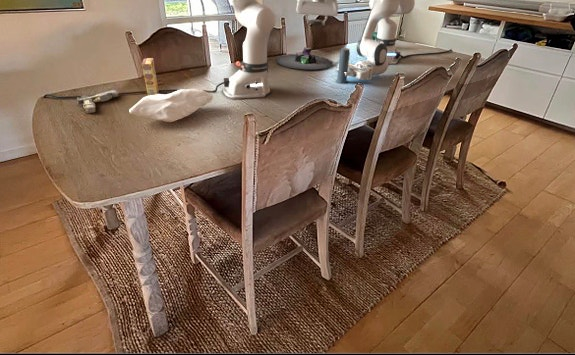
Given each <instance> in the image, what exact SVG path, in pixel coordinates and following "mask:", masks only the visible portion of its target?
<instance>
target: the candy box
mask: <svg viewBox="0 0 575 355" xmlns="http://www.w3.org/2000/svg"><path fill="white" fill-rule="evenodd" d="M141 66H142V73H143V78H144V82H145V87H146V91H147V93H146V94H147V96H150V95H156V94H159V93H160V92H159V91H158V90H159V84H158V79H157V73H156V66H155V62H154V58H153V57H151V58H150V57H149V58H146V57H145V58H143V60H142V63H141Z"/></svg>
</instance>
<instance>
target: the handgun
mask: <svg viewBox="0 0 575 355" xmlns="http://www.w3.org/2000/svg"><path fill="white" fill-rule="evenodd" d="M118 93H119V92H118V91H117V90H116V89H112V90H108V91H105V92H104V91H103V92H101V93H96V94H92V95H93V96H86V95H87V94H85V95H84V94H83V95H80V96H81V98H76V101H77V104H78V105H82V108H83V109H84V110H85V113H87V114H91V113H95V112H96V104H95V103H98V102H106V101H109V100H111V99H113V98H117V97H119V96H120V95H119V94H118Z"/></svg>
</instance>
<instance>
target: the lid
mask: <svg viewBox="0 0 575 355" xmlns="http://www.w3.org/2000/svg"><path fill="white" fill-rule="evenodd" d="M309 20H310V24H309V25H312V26H323V25H322V21H323V20H322V19H315V18H314V19H309Z"/></svg>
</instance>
